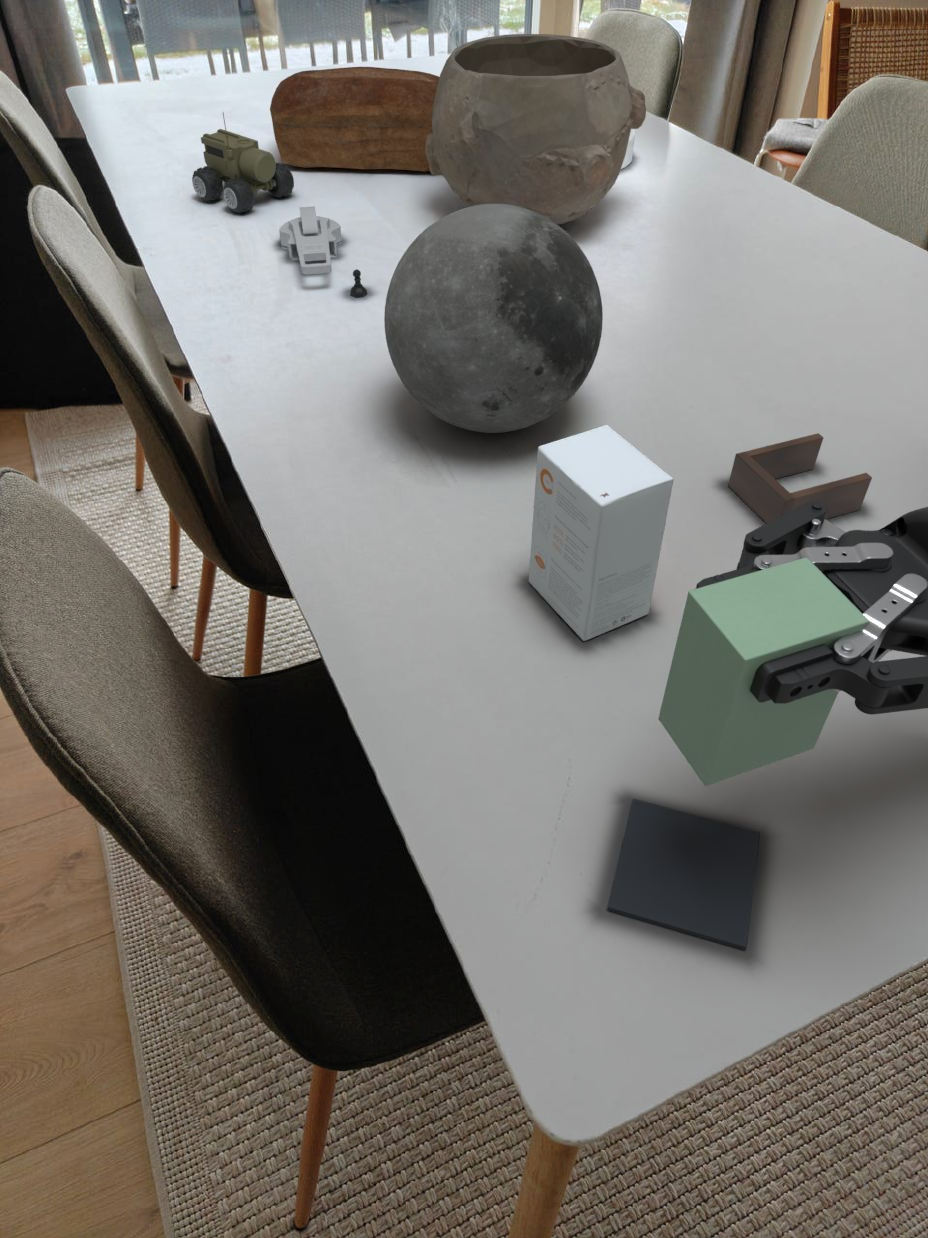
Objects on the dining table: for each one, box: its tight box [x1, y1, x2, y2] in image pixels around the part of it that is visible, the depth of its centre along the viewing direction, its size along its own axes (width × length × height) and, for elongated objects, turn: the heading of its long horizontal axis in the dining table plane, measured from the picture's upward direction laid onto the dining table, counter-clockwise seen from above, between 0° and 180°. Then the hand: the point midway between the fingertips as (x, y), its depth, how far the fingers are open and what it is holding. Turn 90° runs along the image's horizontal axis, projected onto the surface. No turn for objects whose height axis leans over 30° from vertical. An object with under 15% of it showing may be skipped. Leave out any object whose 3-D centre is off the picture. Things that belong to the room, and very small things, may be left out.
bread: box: [269, 66, 440, 172], centre depth 141 cm, size 14×28×12 cm, turn 86°
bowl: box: [426, 33, 647, 226], centre depth 122 cm, size 27×29×20 cm
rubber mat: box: [607, 798, 760, 951], centre depth 57 cm, size 8×8×1 cm
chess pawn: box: [349, 269, 368, 298], centre depth 111 cm, size 2×2×3 cm
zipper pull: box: [278, 206, 343, 275], centre depth 118 cm, size 8×18×4 cm, turn 10°
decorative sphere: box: [383, 204, 604, 434], centre depth 86 cm, size 20×20×20 cm
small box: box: [528, 424, 674, 642], centre depth 70 cm, size 8×6×13 cm
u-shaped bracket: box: [727, 432, 873, 524], centre depth 82 cm, size 9×7×4 cm
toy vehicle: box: [191, 112, 295, 215], centre depth 130 cm, size 10×11×12 cm
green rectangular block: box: [658, 558, 869, 787], centre depth 49 cm, size 7×5×10 cm
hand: (724, 643), depth 46 cm, fingers closed on green rectangular block, 5 cm apart
